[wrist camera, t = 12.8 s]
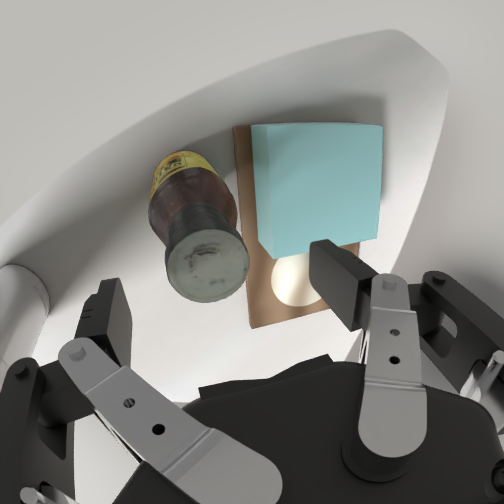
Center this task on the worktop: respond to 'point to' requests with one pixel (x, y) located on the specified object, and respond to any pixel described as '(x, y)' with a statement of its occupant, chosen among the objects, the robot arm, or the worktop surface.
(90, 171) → the worktop surface
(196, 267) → the sauce bottle
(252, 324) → the walnut board
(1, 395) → the robot arm
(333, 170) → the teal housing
